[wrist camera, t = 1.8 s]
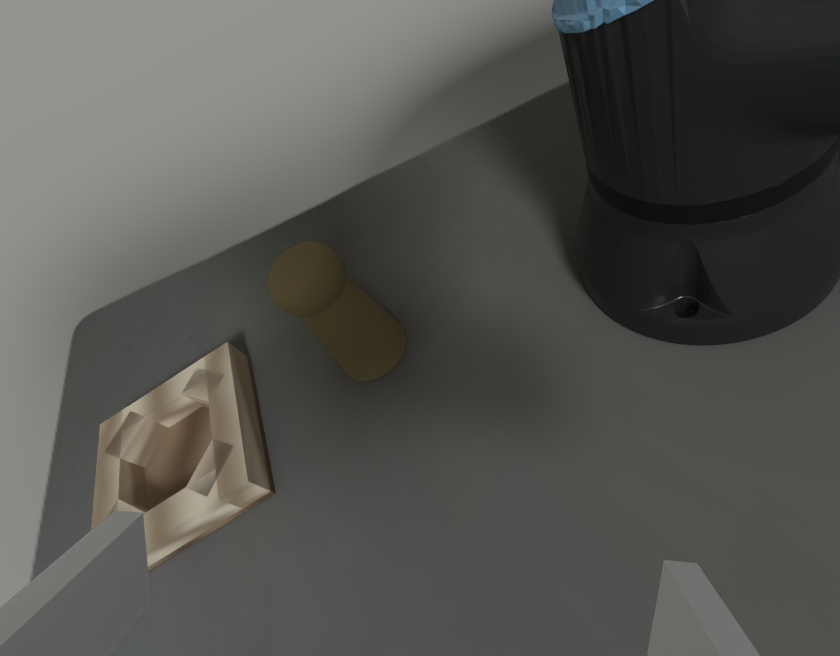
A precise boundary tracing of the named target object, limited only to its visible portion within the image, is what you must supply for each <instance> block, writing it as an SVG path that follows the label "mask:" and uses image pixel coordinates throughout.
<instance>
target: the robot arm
mask: <svg viewBox="0 0 840 656" xmlns="http://www.w3.org/2000/svg"><path fill="white" fill-rule="evenodd" d="M552 17H553V20H554V25H555V28H556V29H557V30H559V35H560V40H561V44H562V49H563V54H564V59H565V63H566V68H567V73H568V78H569V83H570V87H571V92H572V97H573V102H574V107H575V111H576V116H577V121H578V126H579V130H580V135H581V140H582V145H583V149H584V154H585V159H586V164H587V169H588V174H589V180H588V185H587V189H586V194H585V199H584V204H583V209H582V215H581V218H580V221H579V224H578V228H577V232H576V255H577V260H578V264H579V268H580V272H581V276H582V280H583V282H584V285H585V287H586V290H587V291H588V293H589V295H590V297H591V298H592V299H593V301H594V302H595V303H596V304H597V306H598V307H599V308H600V309H601V310H602V311H603V312H604V313H605V314H607V315H608V316H609V317H610V318H612V319H613V320H614V321H616V322H617V323H619V324H621V325H622V326H624V327H626V328H628V329H630V330H632V331H634V332H636V333H639V334H641V335H644V336H647V337H650V338H654V339H657V340H661V341H666V342H671V343H677V344H687V345H719V344H728V343H735V342H741V341H746V340H750V339H754V338H758V337H761V336H764V335H767V334H770V333H772V332H775V331H777V330H780V329H782V328H784V327H786V326H788V325H790V324H792V323H794V322H796V321H797V320H799V319H800V318H802V317H803V316H805V315H806V314H808V313H809V312H810V311H812V310H813V309H814V308H815V307H817V306H818V305H819V304H820V303H821V302H822V301H823V300H824V299H825V298H826V297H827V296H828V294H829V293H830V292H831V291H832V289H833V288H834V286H835V285H836V283H837V282H838V280H839V278H840V148H839V146H840V0H554V3H553V8H552ZM150 604H151V597H150V586H149V575H148V563H147V552H146V540H145V529H144V518H143V513H139V512H128V511H117V510H115V511H114V512H112V513H111V514H110V515H109V516H108V517H106V518H105V519H104V520H103V521H102V522H101V523H99V524H98V525H97V526H96V527H95V528H93V529H92V530H91V531H90V532H89V533H88V534H86V535H85V536H84V537H83V538H82V539H81V540H79V541H78V542H77V543H76V544H75V545H73V546H72V547H71V548H70V549H69V550H68V551H66V552H65V553H64V554H63V555H62V556H61V557H59V558H58V559H57V560H56V561H55V562H53V563H52V564H51V565H50V566H49V567H48V568H46V569H45V570H44V571H43V572H42V573H40V574H39V575H38V576H37V577H36V578H35V579H33V580H32V581H31V582H30V583H29V584H28V585H26V586H25V587H24V588H23V589H22V590H20V591H19V592H18V593H17V594H16V595H15V596H14V597H12V598H11V599H10V600H9V601H8V602H6V603H5V604H4V605H3V606H2V607H1V608H0V656H109V655H110V654H111V653H112V652H113V650H114V649H115V648H116V647H117V645H118V644H119V643H120V642H121V640H122V639H123V638H124V637H125V635H126V634H127V633H128V632H129V630H130V629H131V628H132V627H133V625H134V624H135V623H136V622H137V620H138V619H139V618H140V617H141V615H142V614H143V613H144V612H145V610H146V609H147V608H148V607H149V605H150ZM647 655H648V656H760V655H759V654H758V652H757V651H756V649H755V648H754V646H753V645H752V643H751V642H750V640H749V639H748V637H747V636H746V635H745V633H744V632H743V630H742V629H741V627H740V626H739V624H738V623H737V621H736V620H735V618H734V617H733V615H732V614H731V613H730V611H729V610H728V608H727V607H726V605H725V604H724V602H723V601H722V599H721V598H720V596H719V595H718V593H717V592H716V591H715V589H714V588H713V586H712V585H711V583H710V582H709V580H708V579H707V577H706V576H705V574H704V573H703V571H702V570H701V569H700V567H699V566H698V564H697V563H690V562H679V561H668V560H664V563H663V569H662V574H661V580H660V586H659V591H658V597H657V603H656V608H655V614H654V620H653V625H652V631H651V636H650V642H649V648H648V653H647Z"/></svg>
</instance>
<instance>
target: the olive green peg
mask: <svg viewBox="0 0 840 656" xmlns="http://www.w3.org/2000/svg"><path fill="white" fill-rule="evenodd" d="M268 288H269V292H270V294H271V297H272V298H273V300H274V302H275V303H276V304H277V305H278V306H279V307H280V308H282V309H283V310H284V311H285V312H287V313H289V314H291V315H293V316H297V317H302V318H303V319H304V321H305V322H306V323H307V325H308V326H309V327H310V329H311V330H312V331H313V332H314V334H315V335H316V336H317V338H318V339H319V340H320V342H321V343H322V344H323V345H324V347H325V348H326V349H327V351H328V352H329V353H330V354H331V356H332V357H333V358H334V360H335V361H336V362H337V364H338V365H339V366H340V367H341V369H342V370H343V371H344V373H345V374H346V375H348V376H349V377H350V378H351V379H354V380H357V381H372V380H374V379H377V378H380V377H382V376H384V375H385V374H386V373H388V372H389V371H390V370H392V369H393V368H394V367H395V365H396V364H397V363H398V362H399V361H400V359H401V357H402V355H403V353H404V351H405V348H406V342H407V336H406V330H405V328H404V327H403V325H402V324H401V322H399V321H398V320H397V319H396V318H395V317H394V316H392V315H391V314H390V313H389V312H388V311H386V310H385V309H384V308H383V307H382V306H381V305H379V304H378V303H377V302H376V301H375V300H373V299H372V298H371V297H370V296H369V295H368V294H366V293H365V292H364V291H363V290H362V289H361V288H359V287H358V286H357V285H356V284H355V283H353V282H352V281H351V280H350V279H349V278H348V277H346V270H345V267H344V264H343V262H342V261H341V259H340V257H339V256H338V255H337V253H336V252H335V251H334V250H333V249H331V248H330V247H328V246H327V245H325V244H323V243H320V242H315V241H306V242H302V243H299V244H297V245H295V246H293V247H291V248H289V249H288V250H287V251H285V252H284V253H283V254H282V255H281V256H280V257H279V258H278V259H277V260H276V262H275V263H274V265H273V266H272V268H271V270H270V273H269V276H268Z"/></svg>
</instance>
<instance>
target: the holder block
mask: <svg viewBox="0 0 840 656" xmlns="http://www.w3.org/2000/svg"><path fill="white" fill-rule="evenodd" d="M273 494H275V490H274V484H273V479H272V474H271V468H270V463H269V457H268V452H267V447H266V441H265V436H264V430H263V425H262V420H261V414H260V409H259V403H258V398H257V393H256V387H255V382H254V377H253V371H252V366H251V360H250V358H249V357H248V356H246V355H245V354H244V353H242V352H241V351H239V350H238V349H237V348H235V347H234V346H233V345H231V344H230V343H228V342H226V343H225V344H223V345H222V346H220V347H218V348H217V349H215V350H214V351H212V352H211V353H209V354H208V355H206V356H205V357H203V358H202V359H200V360H199V361H197V362H195V363H194V364H192V365H191V366H189V367H188V368H186V369H185V370H183V371H182V372H180V373H179V374H177V375H175V376H174V377H172V378H171V379H169V380H168V381H166V382H165V383H163V384H162V385H160V386H159V387H157V388H156V389H154V390H152V391H151V392H149V393H148V394H146V395H145V396H143V397H142V398H140V399H139V400H137V401H136V402H134V403H132V404H131V405H129V406H128V407H126V408H125V409H123V410H122V411H120V412H119V413H117V414H116V415H114V416H113V417H111V418H109V419H108V420H106V421H105V422H103V423H102V424H100V432H99V444H98V456H97V468H96V479H95V491H94V503H93V515H92V527H91V530H92V529H93V528H95V527H96V526H97V525H98V524H99V523H101V522H102V521H103V520H104V519H105V518H106V517H108V516H109V515H110V514H111V513H112V512H114V511H115V510H117V511H128V512H139V513H143V518H144V529H145V540H146V552H147V563H148V571H150V570H151V569H153V568H154V567H156V566H158V565H159V564H161V563H163V562H164V561H166V560H167V559H169V558H171V557H172V556H174V555H176V554H177V553H179V552H180V551H182V550H184V549H185V548H187V547H189V546H190V545H192V544H193V543H195V542H197V541H198V540H200V539H202V538H203V537H205V536H206V535H208V534H210V533H211V532H213V531H215V530H216V529H218V528H219V527H221V526H223V525H224V524H226V523H228V522H229V521H231V520H232V519H234V518H236V517H237V516H239V515H241V514H242V513H244V512H246V511H247V510H249V509H250V508H252V507H254V506H255V505H257V504H259V503H260V502H262V501H263V500H265V499H267V498H268V497H270V496H272V495H273Z"/></svg>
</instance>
